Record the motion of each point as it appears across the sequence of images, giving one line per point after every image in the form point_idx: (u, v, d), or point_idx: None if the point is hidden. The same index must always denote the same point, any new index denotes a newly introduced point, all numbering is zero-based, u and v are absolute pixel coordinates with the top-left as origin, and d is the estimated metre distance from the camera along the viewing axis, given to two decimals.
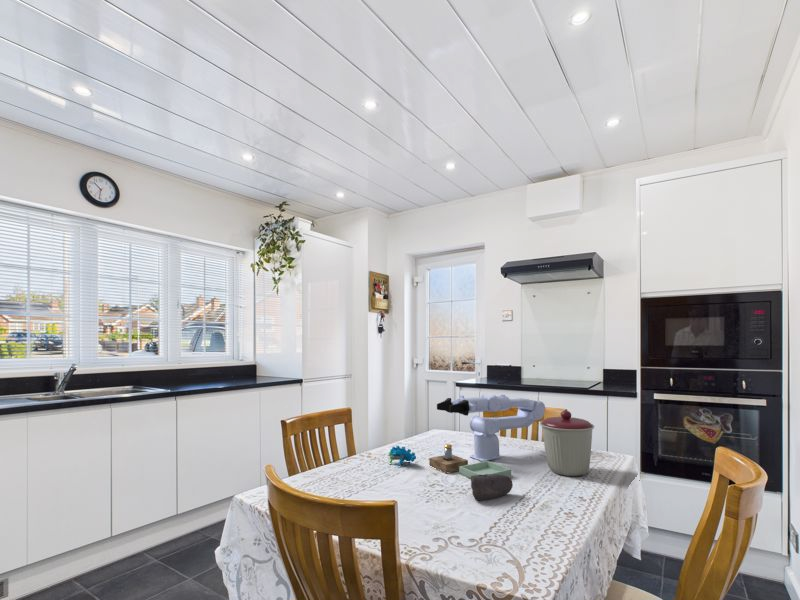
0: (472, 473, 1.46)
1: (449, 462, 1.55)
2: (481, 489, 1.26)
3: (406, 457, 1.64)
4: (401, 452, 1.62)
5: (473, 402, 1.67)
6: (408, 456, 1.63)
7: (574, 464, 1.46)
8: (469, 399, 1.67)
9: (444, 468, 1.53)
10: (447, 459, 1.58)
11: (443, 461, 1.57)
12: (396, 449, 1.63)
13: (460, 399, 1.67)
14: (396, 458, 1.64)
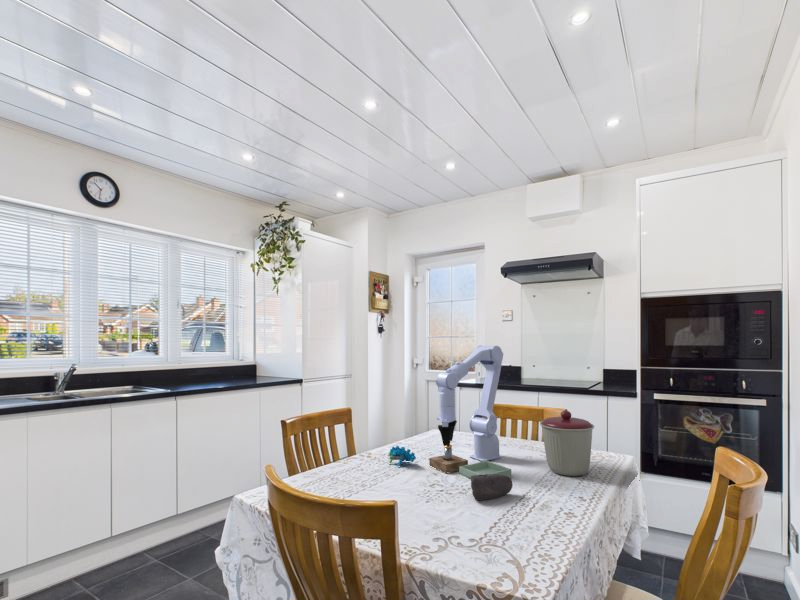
0: (472, 473, 1.46)
1: (449, 462, 1.55)
2: (481, 489, 1.26)
3: (406, 457, 1.64)
4: (401, 452, 1.62)
5: (442, 409, 1.59)
6: (408, 456, 1.63)
7: (574, 464, 1.46)
8: (440, 411, 1.60)
9: (444, 468, 1.53)
10: (447, 459, 1.58)
11: (443, 461, 1.57)
12: (396, 449, 1.63)
13: None
14: (396, 458, 1.64)
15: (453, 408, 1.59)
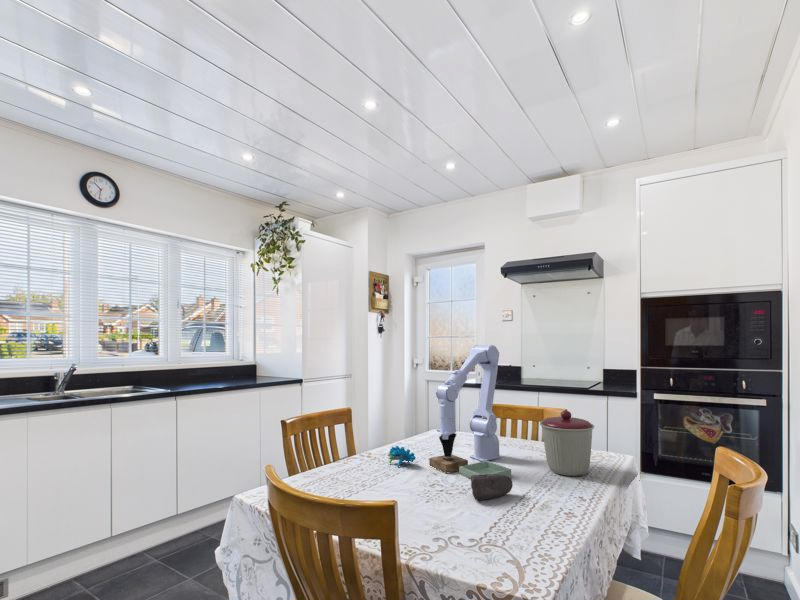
0: (472, 473, 1.46)
1: (449, 462, 1.55)
2: (481, 489, 1.26)
3: (406, 457, 1.64)
4: (400, 452, 1.62)
5: (443, 421, 1.58)
6: (407, 456, 1.63)
7: (574, 464, 1.46)
8: (440, 423, 1.59)
9: (444, 468, 1.53)
10: (447, 459, 1.58)
11: (443, 461, 1.57)
12: (395, 449, 1.63)
13: None
14: (395, 458, 1.64)
15: (453, 420, 1.58)
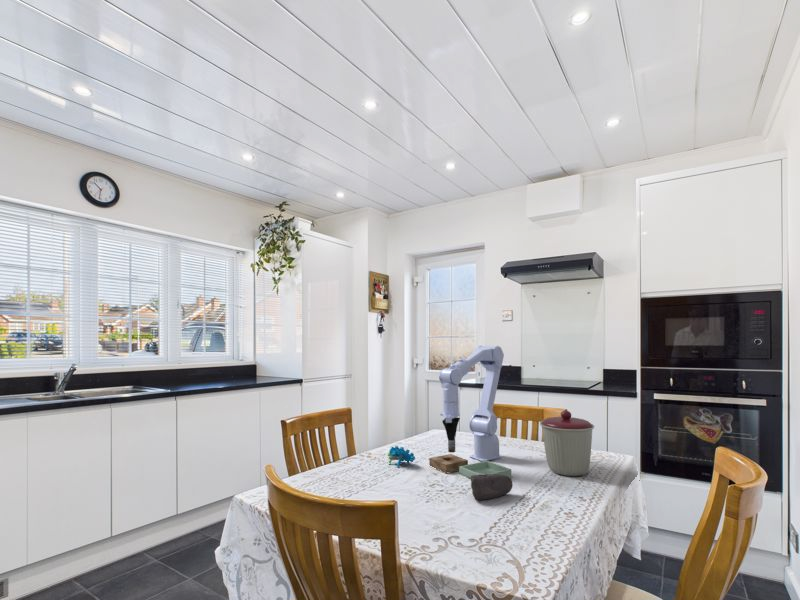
0: (472, 473, 1.46)
1: (449, 462, 1.55)
2: (481, 489, 1.26)
3: (405, 457, 1.63)
4: (400, 452, 1.62)
5: (446, 405, 1.58)
6: (407, 456, 1.62)
7: (574, 464, 1.46)
8: (443, 407, 1.59)
9: (444, 468, 1.53)
10: (450, 443, 1.58)
11: (443, 461, 1.57)
12: (395, 449, 1.63)
13: None
14: (395, 458, 1.64)
15: (457, 404, 1.58)
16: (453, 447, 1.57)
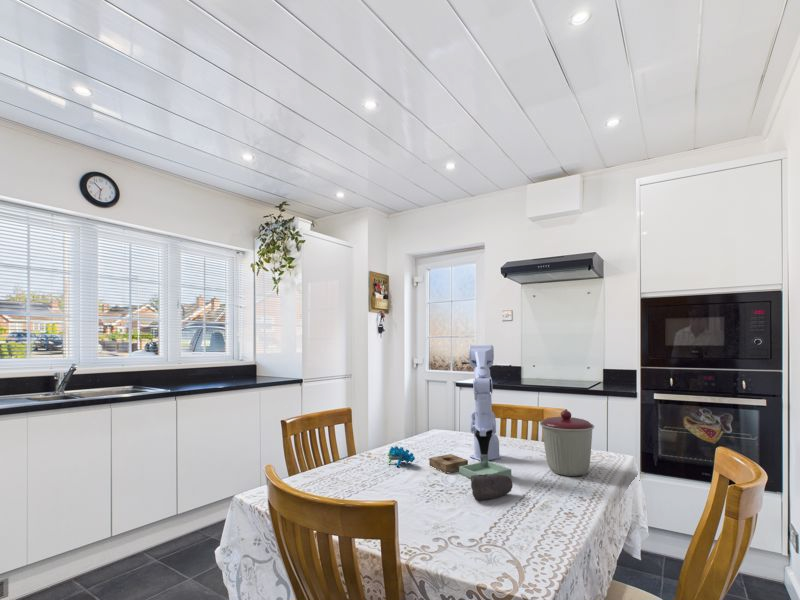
0: (472, 473, 1.46)
1: (449, 462, 1.55)
2: (481, 489, 1.26)
3: (405, 458, 1.63)
4: (400, 452, 1.62)
5: (479, 417, 1.49)
6: (407, 457, 1.62)
7: (574, 464, 1.46)
8: (476, 419, 1.50)
9: (444, 468, 1.53)
10: (483, 457, 1.49)
11: (443, 461, 1.57)
12: None
13: None
14: (395, 458, 1.63)
15: (490, 416, 1.49)
16: (486, 461, 1.49)
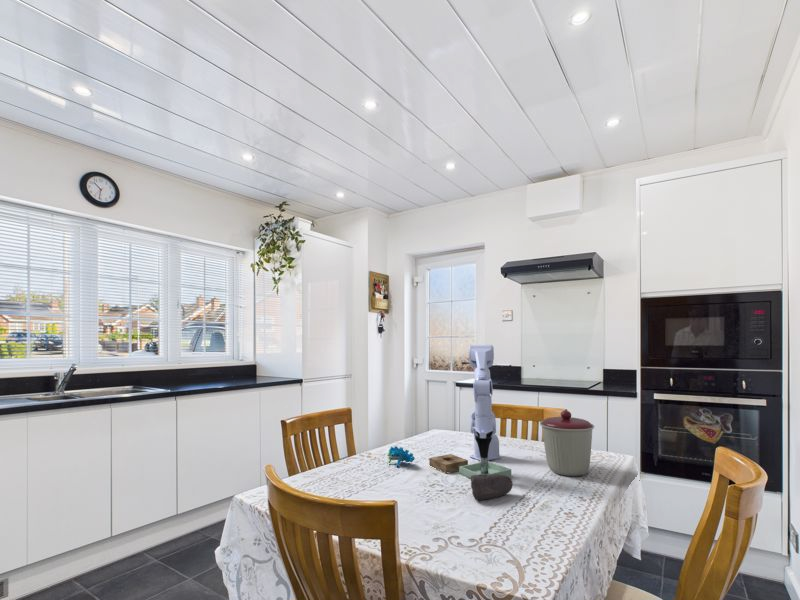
0: (472, 473, 1.46)
1: (449, 462, 1.55)
2: (481, 489, 1.26)
3: (405, 458, 1.63)
4: (399, 452, 1.62)
5: (479, 419, 1.49)
6: (406, 457, 1.62)
7: (574, 464, 1.46)
8: (476, 421, 1.50)
9: (444, 468, 1.53)
10: (483, 465, 1.49)
11: (443, 461, 1.57)
12: (394, 449, 1.62)
13: None
14: (395, 458, 1.63)
15: (490, 418, 1.49)
16: (486, 469, 1.49)
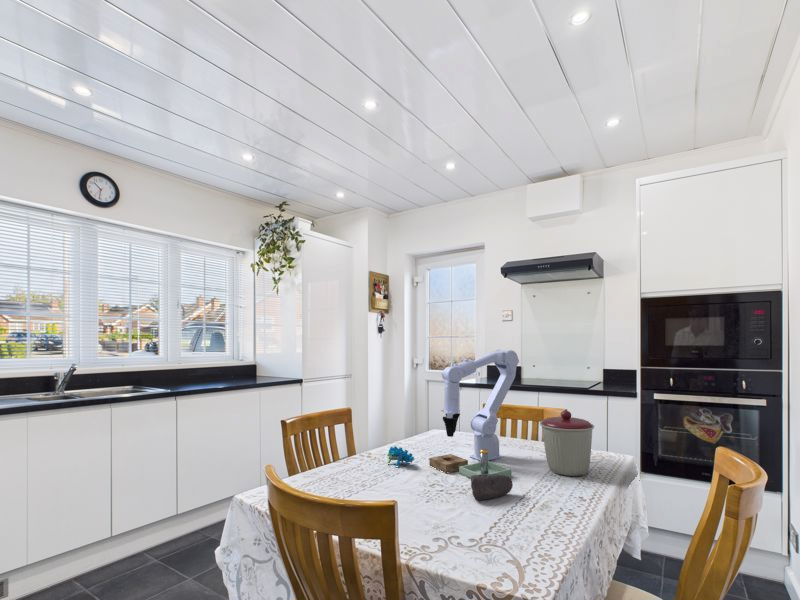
0: (472, 473, 1.46)
1: (449, 462, 1.55)
2: (481, 489, 1.26)
3: (404, 458, 1.63)
4: (399, 453, 1.62)
5: (447, 401, 1.65)
6: (406, 457, 1.62)
7: (574, 464, 1.46)
8: (444, 403, 1.66)
9: (444, 468, 1.53)
10: (483, 465, 1.49)
11: (443, 461, 1.57)
12: None
13: None
14: (394, 458, 1.63)
15: (457, 401, 1.65)
16: (486, 469, 1.49)
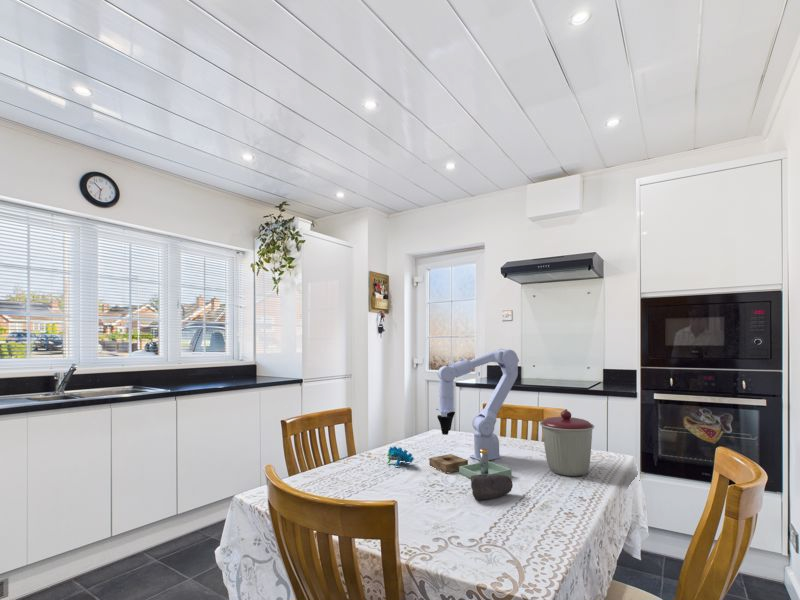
0: (472, 473, 1.46)
1: (449, 462, 1.55)
2: (481, 489, 1.26)
3: (404, 458, 1.63)
4: (398, 453, 1.62)
5: (442, 400, 1.69)
6: (405, 457, 1.62)
7: (574, 464, 1.46)
8: (439, 402, 1.70)
9: (444, 468, 1.53)
10: (483, 465, 1.49)
11: (443, 461, 1.57)
12: (393, 449, 1.62)
13: None
14: (394, 458, 1.63)
15: (452, 399, 1.69)
16: (486, 469, 1.49)
